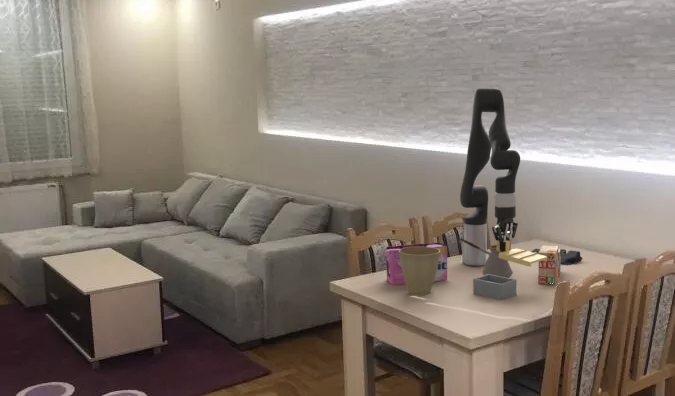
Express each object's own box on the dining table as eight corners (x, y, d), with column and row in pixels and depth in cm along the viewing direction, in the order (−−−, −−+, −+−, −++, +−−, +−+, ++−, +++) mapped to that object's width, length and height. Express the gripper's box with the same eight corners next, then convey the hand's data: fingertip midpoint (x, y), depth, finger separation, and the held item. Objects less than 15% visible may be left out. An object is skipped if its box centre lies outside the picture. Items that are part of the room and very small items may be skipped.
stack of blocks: (544, 270, 288) (544, 240, 287) (560, 271, 286) (561, 241, 284) (538, 283, 269) (538, 251, 267) (555, 285, 266) (555, 252, 265)
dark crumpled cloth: (538, 253, 320) (538, 243, 319) (585, 260, 305) (586, 249, 304) (521, 259, 309) (521, 249, 308) (569, 267, 294) (569, 255, 293)
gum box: (388, 285, 272) (388, 250, 270) (382, 280, 280) (382, 246, 278) (448, 280, 277) (447, 246, 275) (440, 275, 285) (440, 242, 283)
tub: (473, 295, 256) (473, 278, 255) (488, 290, 262) (488, 274, 261) (501, 301, 247) (501, 284, 246) (516, 296, 253) (516, 279, 252)
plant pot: (430, 301, 250) (429, 256, 248) (392, 295, 258) (391, 252, 256) (447, 290, 263) (446, 248, 260) (410, 285, 270) (410, 244, 268)
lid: (489, 255, 263) (490, 241, 262) (506, 250, 271) (507, 236, 269) (530, 266, 251) (531, 252, 250) (546, 261, 258) (548, 247, 257)
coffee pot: (516, 277, 278) (516, 239, 276) (507, 284, 268) (507, 245, 266) (464, 271, 289) (464, 235, 287) (453, 278, 279) (453, 240, 277)
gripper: (507, 201, 269) (507, 246, 272) (485, 206, 260) (485, 252, 263) (524, 203, 264) (524, 249, 266) (502, 208, 255) (502, 255, 257)
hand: (505, 250), depth 264 cm, fingers closed on lid, 2 cm apart
